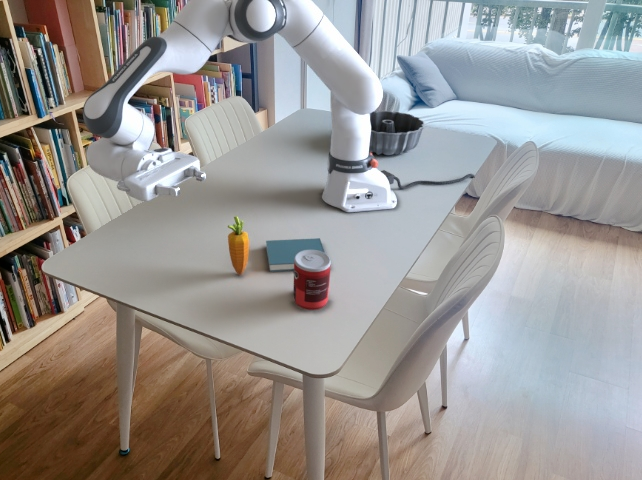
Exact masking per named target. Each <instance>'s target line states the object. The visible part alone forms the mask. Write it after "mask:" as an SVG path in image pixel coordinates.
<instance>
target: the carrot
mask: <svg viewBox="0 0 642 480" xmlns="http://www.w3.org/2000/svg"><path fill="white" fill-rule="evenodd" d="M233 219H234V222H235V223H233V224H232V225H227V228H228V229H230V230H232V231H231V232H230V233H228V235H227V240H228V241H227V243H228V252H229V257H230V261H231V264H232V267H233V270H234V271H235V272H236V274H237V275H239V276H241V275H242V274H243V273H244V272H245V270H246V268H247V265H248V260H249V254H250V239H249V234H248V232H246V231H243V227H244V220H240V218H239V217H238V216H233Z"/></svg>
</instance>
